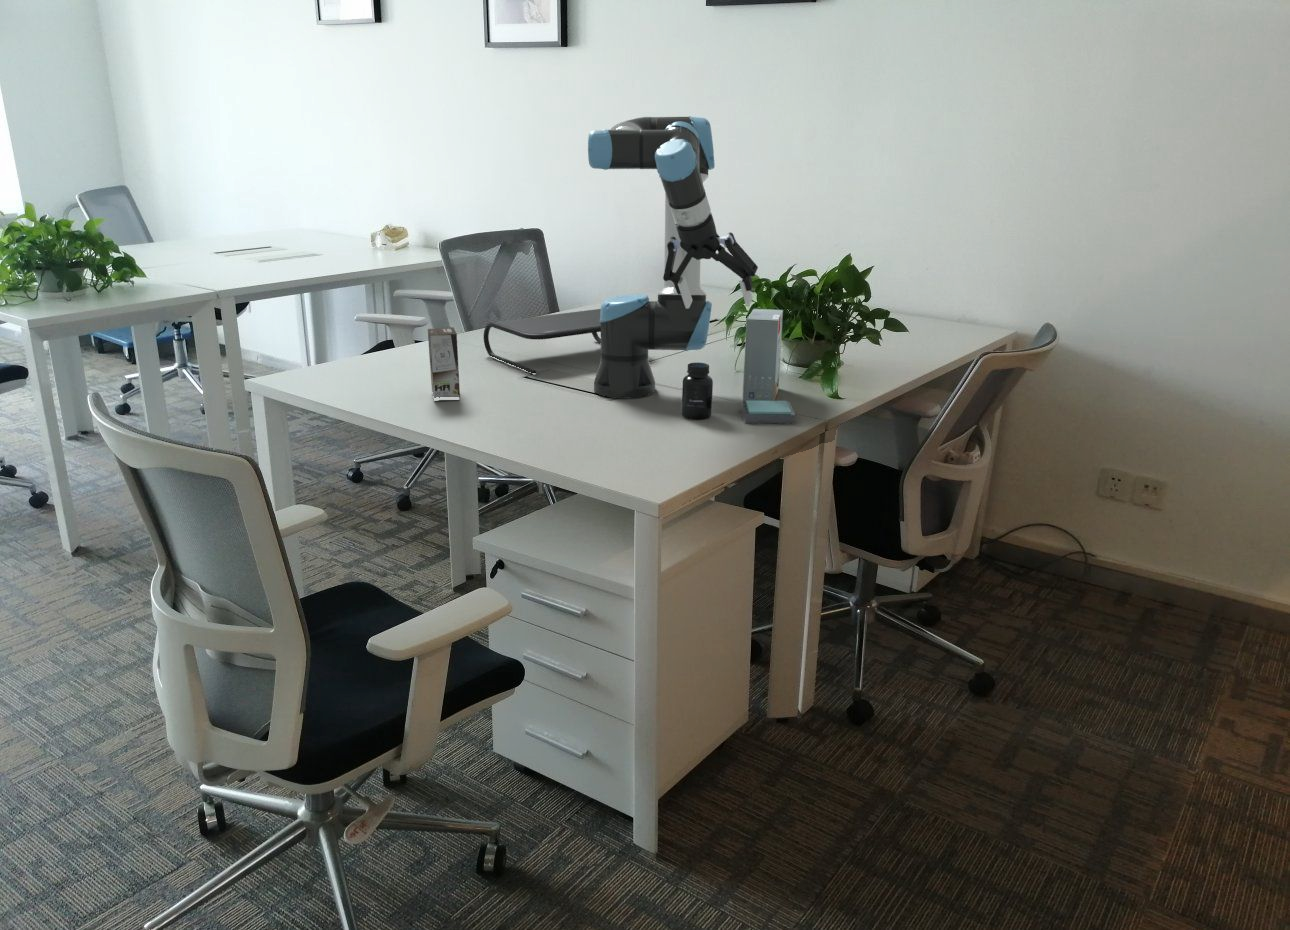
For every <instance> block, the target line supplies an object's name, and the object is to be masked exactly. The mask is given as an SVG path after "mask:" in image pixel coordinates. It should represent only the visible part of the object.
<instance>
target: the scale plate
mask: <svg viewBox="0 0 1290 930" xmlns="http://www.w3.org/2000/svg"><path fill="white" fill-rule="evenodd" d="M745 402H746V405H747V408H748V411H749V414H791V411H790V408H789V406H788V404H787V402H788V401H787V400H774V401H745Z"/></svg>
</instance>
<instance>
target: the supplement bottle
mask: <svg viewBox="0 0 1290 930" xmlns="http://www.w3.org/2000/svg"><path fill="white" fill-rule="evenodd" d="M686 372H687V374H686V375H685V376H684V377H683V379H682V391H681V395H682V396H681V416H682V417H683V418H685V419H686V420H687V419H688V420H693V421H703V420H708V419H710V418H712V413H713V412H712V411H713V391H714V390H713V389H714V380H713V378H712V377H711V376H710V375H709V374H710V365H709V364H708V363H705V362H690V363H688V364H687V371H686Z"/></svg>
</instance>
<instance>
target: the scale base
mask: <svg viewBox="0 0 1290 930" xmlns="http://www.w3.org/2000/svg"><path fill="white" fill-rule="evenodd" d="M786 402H787V404H788V406H789V408H790V411H791V414H749V411H748V408H747V405H746V401H741V414H742V417H743V420H744V424H749V425H751V424H757V425H758V424H761V425H763V424H762V423H795V424H796V413H795V411H794V409H793V407H792V404H791V403H790V401H786Z"/></svg>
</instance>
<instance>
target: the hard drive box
mask: <svg viewBox="0 0 1290 930" xmlns="http://www.w3.org/2000/svg"><path fill="white" fill-rule="evenodd" d="M783 313H784V309H768V308H767V309H766V308H763V309H762V308H753V309H752V310H751V312H750V314H749V315H748V317H747V318H746V323H745V324H746V326H745V340H744V341H745V342H744V343H745V344H744V345H745V346H744V363H743V364H744V365H743V381H742V382H743V384H742V402H746V401H776V397H777V394H778V392H779V387H780V374H781V353H782V351H781V350H782V335H783V315H784V314H783Z"/></svg>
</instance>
